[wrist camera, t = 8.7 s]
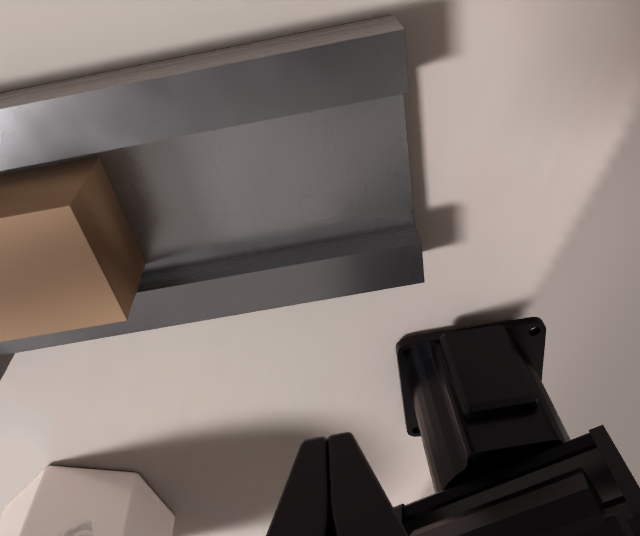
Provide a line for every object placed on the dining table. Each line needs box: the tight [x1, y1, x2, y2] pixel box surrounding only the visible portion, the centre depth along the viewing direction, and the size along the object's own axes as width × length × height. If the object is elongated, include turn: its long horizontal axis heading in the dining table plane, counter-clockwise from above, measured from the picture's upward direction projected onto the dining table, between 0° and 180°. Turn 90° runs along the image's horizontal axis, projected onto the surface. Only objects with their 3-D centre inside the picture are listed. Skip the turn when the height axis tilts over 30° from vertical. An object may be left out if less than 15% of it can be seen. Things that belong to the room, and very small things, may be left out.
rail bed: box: [0, 15, 424, 355], centre depth 19 cm, size 9×16×2 cm, turn 100°
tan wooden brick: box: [0, 157, 146, 342], centre depth 19 cm, size 4×7×3 cm, turn 100°
